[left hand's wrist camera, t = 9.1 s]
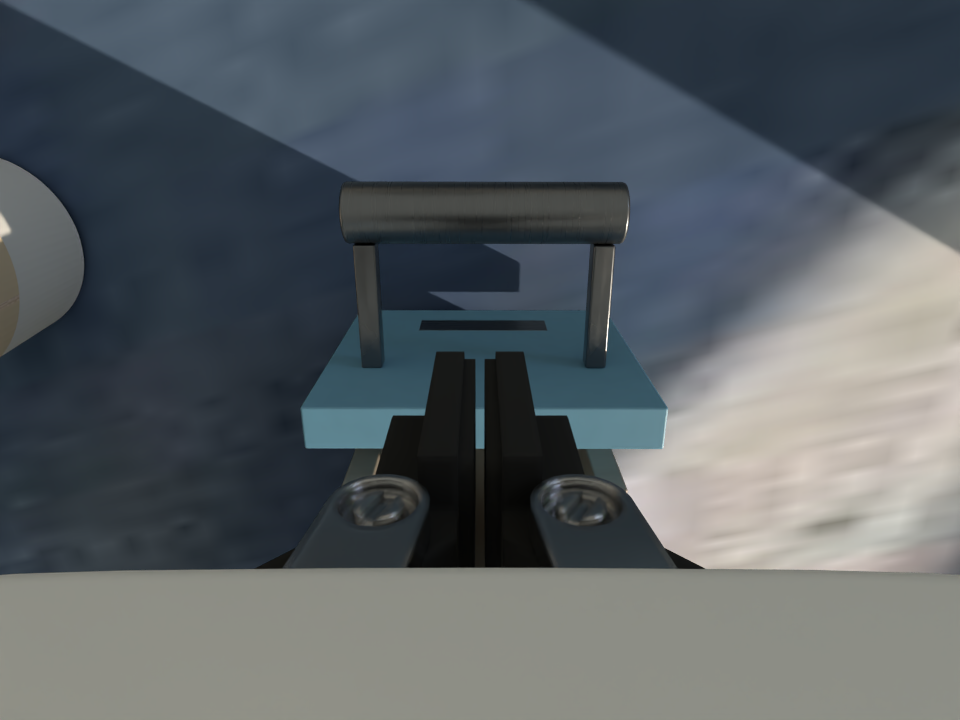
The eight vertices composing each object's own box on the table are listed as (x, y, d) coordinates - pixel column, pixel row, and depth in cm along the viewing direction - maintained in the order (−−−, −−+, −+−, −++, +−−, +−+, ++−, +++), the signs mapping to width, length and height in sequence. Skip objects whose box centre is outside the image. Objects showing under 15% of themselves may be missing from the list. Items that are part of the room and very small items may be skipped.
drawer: (349, 165, 22) (275, 194, 14) (617, 166, 22) (695, 195, 14) (380, 602, 29) (343, 786, 21) (582, 602, 29) (621, 787, 21)
